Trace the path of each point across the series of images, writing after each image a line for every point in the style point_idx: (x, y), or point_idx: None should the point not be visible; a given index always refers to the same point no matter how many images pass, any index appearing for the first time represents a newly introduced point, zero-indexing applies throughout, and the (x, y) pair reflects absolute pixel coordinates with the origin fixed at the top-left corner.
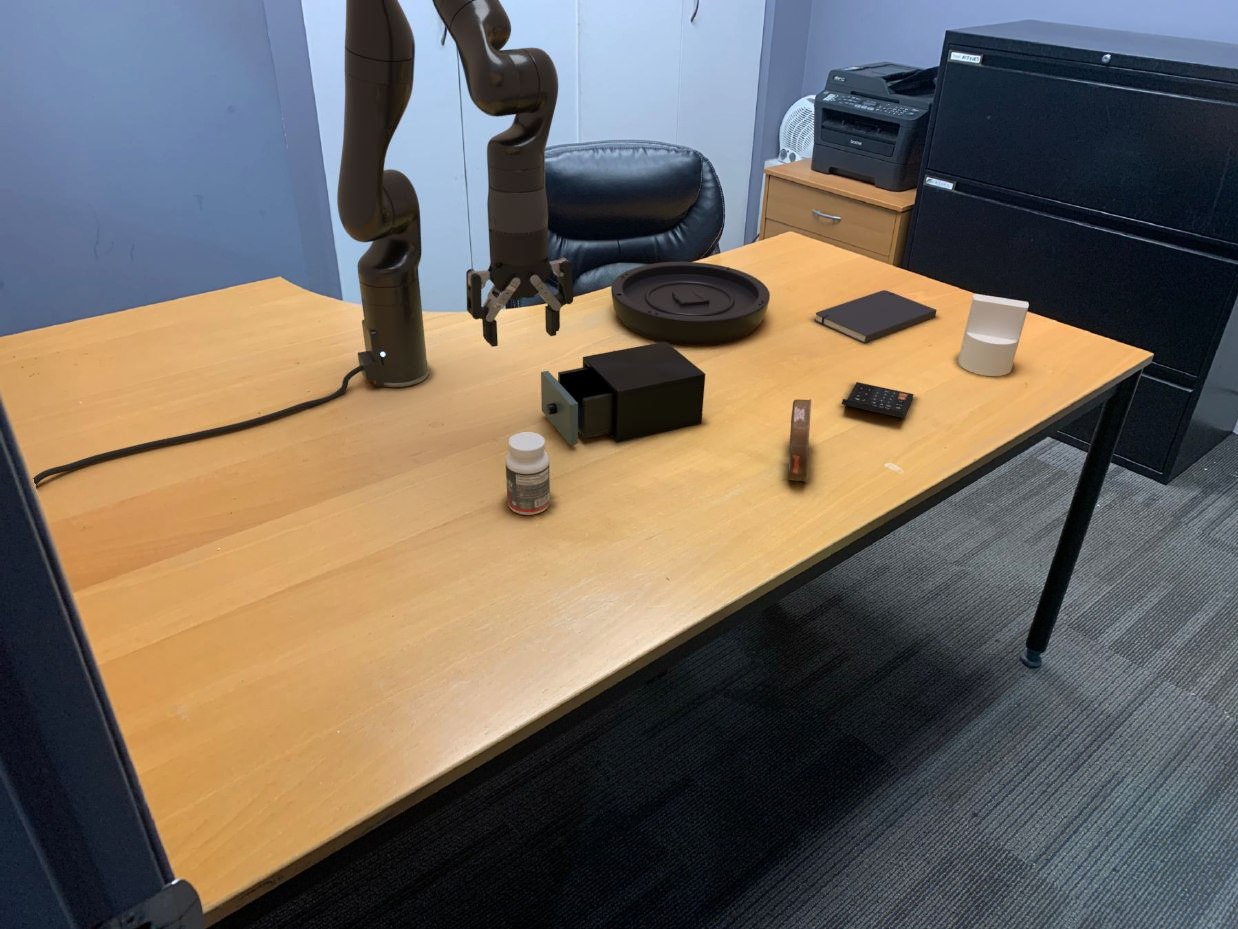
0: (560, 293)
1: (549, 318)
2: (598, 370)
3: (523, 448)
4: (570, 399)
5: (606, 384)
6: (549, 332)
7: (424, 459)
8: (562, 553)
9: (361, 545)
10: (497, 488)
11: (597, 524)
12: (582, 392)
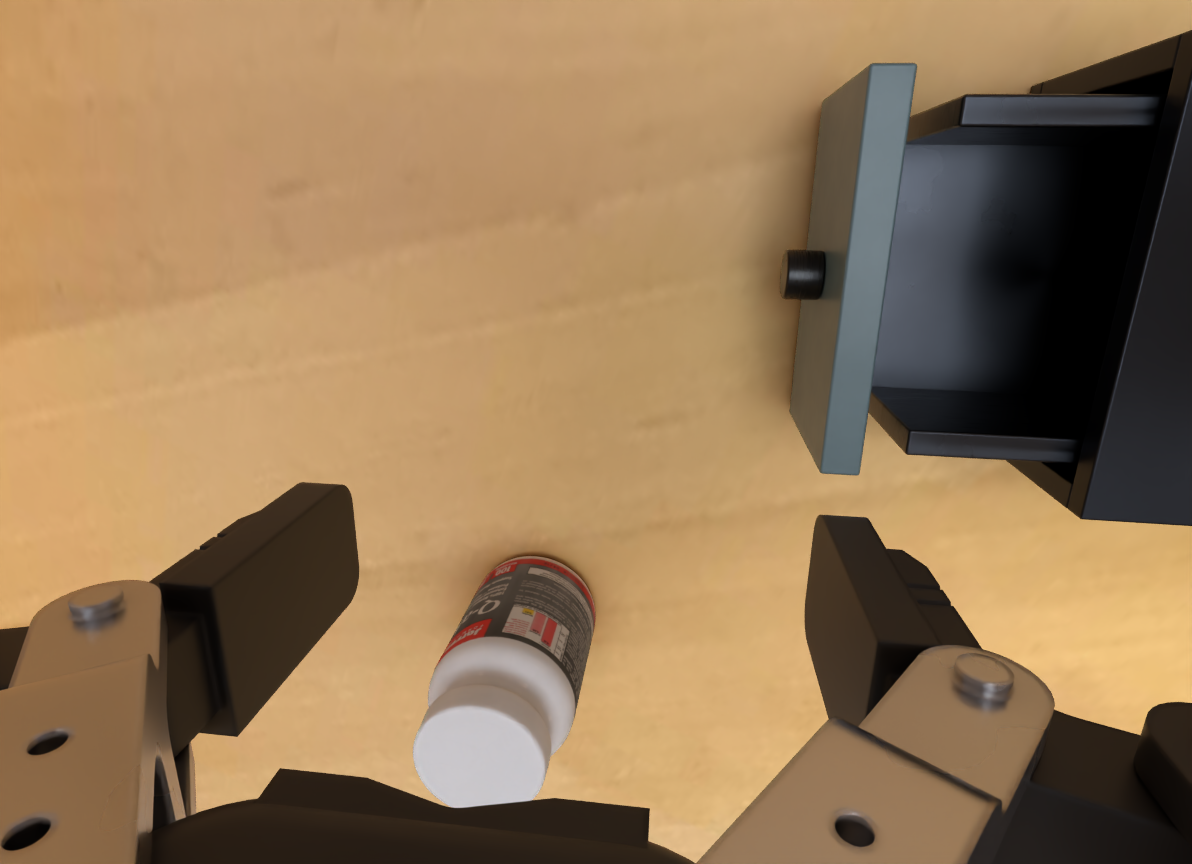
0: (1165, 859)
1: (839, 682)
2: (1157, 258)
3: (450, 798)
4: (847, 430)
5: (1099, 381)
6: (810, 598)
7: (307, 236)
8: (538, 799)
9: (106, 569)
10: (481, 497)
11: (667, 753)
12: (1039, 141)
